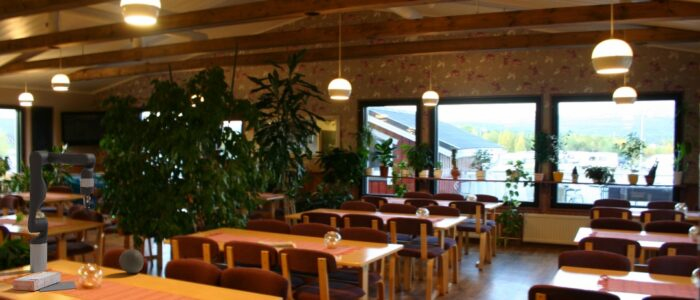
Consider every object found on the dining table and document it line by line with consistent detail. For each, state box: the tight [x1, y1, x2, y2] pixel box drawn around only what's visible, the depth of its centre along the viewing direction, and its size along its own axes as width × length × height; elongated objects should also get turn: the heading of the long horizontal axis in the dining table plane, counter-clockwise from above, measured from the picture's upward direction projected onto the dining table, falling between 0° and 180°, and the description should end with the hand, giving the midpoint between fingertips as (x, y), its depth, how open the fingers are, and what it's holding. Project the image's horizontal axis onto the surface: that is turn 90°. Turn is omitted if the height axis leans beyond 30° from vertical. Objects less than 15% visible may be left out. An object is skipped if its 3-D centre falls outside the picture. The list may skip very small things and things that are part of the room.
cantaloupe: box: [118, 248, 144, 274], centre depth 371 cm, size 14×14×15 cm
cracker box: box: [12, 270, 62, 292], centre depth 335 cm, size 14×6×21 cm
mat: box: [39, 280, 77, 293], centre depth 336 cm, size 18×18×1 cm
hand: (86, 213), depth 367 cm, fingers closed
